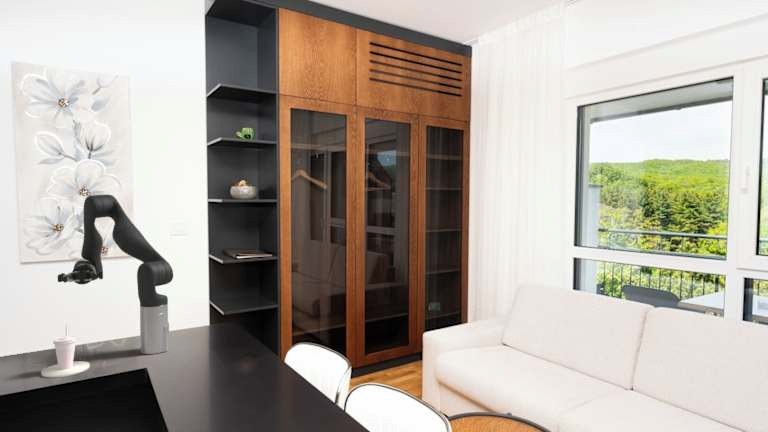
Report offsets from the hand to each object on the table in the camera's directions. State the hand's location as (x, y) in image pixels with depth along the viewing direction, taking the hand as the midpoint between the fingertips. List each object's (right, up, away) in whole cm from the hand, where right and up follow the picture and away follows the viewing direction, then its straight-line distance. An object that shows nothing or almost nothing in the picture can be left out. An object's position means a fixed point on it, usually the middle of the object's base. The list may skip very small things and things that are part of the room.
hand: (79, 278), depth 167 cm
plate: (+8, -28, -18) cm, 34 cm away
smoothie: (+8, -27, -18) cm, 33 cm away
